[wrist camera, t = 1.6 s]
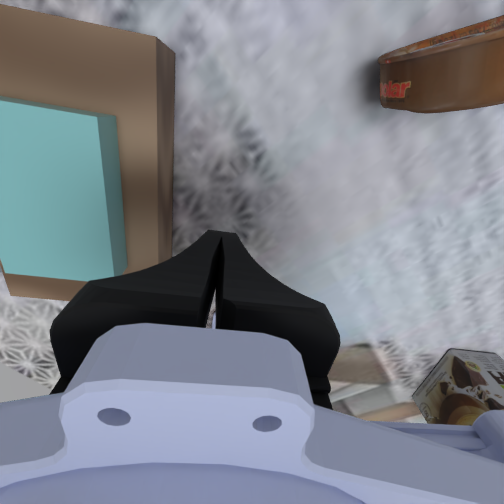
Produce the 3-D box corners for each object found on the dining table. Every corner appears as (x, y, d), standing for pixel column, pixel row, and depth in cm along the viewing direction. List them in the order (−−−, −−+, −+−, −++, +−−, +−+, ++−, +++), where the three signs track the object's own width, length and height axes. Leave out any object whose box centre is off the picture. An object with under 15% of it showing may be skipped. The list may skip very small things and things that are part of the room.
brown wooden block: (171, 278, 23) (158, 309, 19) (47, 265, 22) (10, 295, 18) (175, 53, 15) (155, 36, 12) (-15, 14, 14) (-100, -17, 10)
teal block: (127, 266, 17) (115, 284, 16) (29, 255, 17) (5, 272, 15) (115, 115, 13) (96, 116, 11) (-16, 93, 12) (-58, 90, 11)
